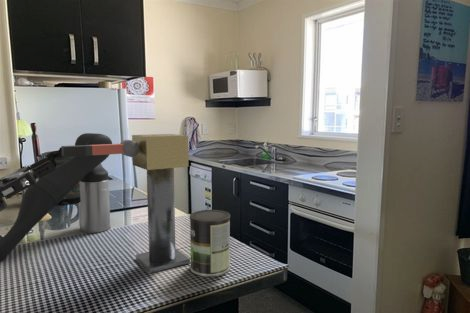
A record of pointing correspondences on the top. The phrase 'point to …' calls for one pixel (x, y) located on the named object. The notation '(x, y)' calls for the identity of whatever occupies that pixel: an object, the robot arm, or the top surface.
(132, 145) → the lever
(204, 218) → the coffee can
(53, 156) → the beer stein
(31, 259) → the top surface
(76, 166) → the robot arm
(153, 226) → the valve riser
